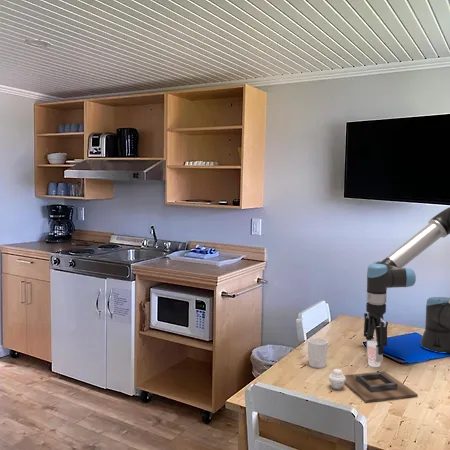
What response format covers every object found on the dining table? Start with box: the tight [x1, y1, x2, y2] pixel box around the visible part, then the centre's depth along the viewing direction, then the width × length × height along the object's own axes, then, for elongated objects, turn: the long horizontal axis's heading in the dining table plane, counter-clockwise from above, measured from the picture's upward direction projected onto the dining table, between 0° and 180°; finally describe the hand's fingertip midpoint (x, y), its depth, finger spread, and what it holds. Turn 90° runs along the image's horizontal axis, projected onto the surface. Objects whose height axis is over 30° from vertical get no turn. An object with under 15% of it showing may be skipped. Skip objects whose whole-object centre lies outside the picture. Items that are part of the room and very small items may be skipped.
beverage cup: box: [366, 330, 381, 368], centre depth 188 cm, size 6×6×14 cm
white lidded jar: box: [328, 368, 346, 390], centre depth 168 cm, size 6×6×7 cm
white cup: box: [307, 337, 329, 369], centre depth 189 cm, size 8×8×10 cm
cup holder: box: [343, 370, 419, 404], centre depth 169 cm, size 20×20×3 cm
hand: (374, 358), depth 188 cm, fingers closed on beverage cup, 6 cm apart
